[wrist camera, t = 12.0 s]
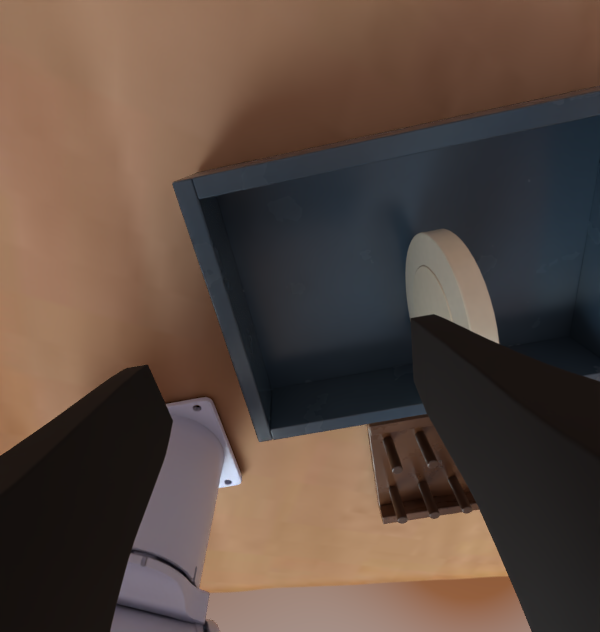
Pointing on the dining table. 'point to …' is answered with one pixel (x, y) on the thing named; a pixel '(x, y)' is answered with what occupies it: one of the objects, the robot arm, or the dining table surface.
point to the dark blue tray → (398, 255)
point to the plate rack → (415, 471)
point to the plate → (448, 283)
